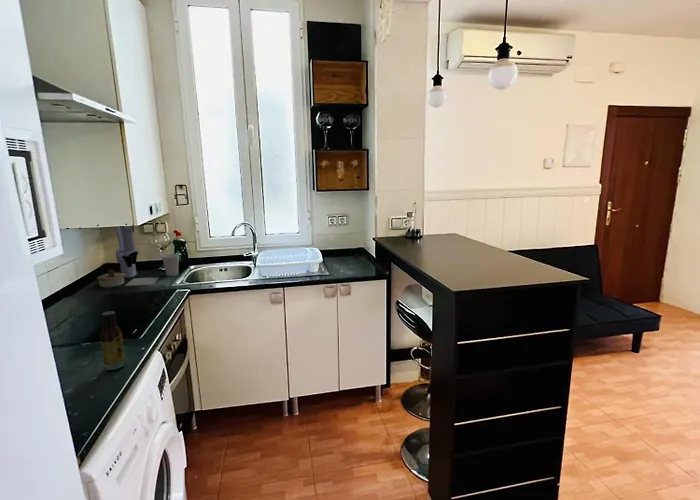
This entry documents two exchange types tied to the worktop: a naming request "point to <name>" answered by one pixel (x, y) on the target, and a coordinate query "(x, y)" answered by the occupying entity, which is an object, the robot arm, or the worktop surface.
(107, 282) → the bowl
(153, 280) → the mat
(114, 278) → the lid
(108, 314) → the sauce bottle
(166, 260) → the foam cup
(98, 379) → the worktop surface
